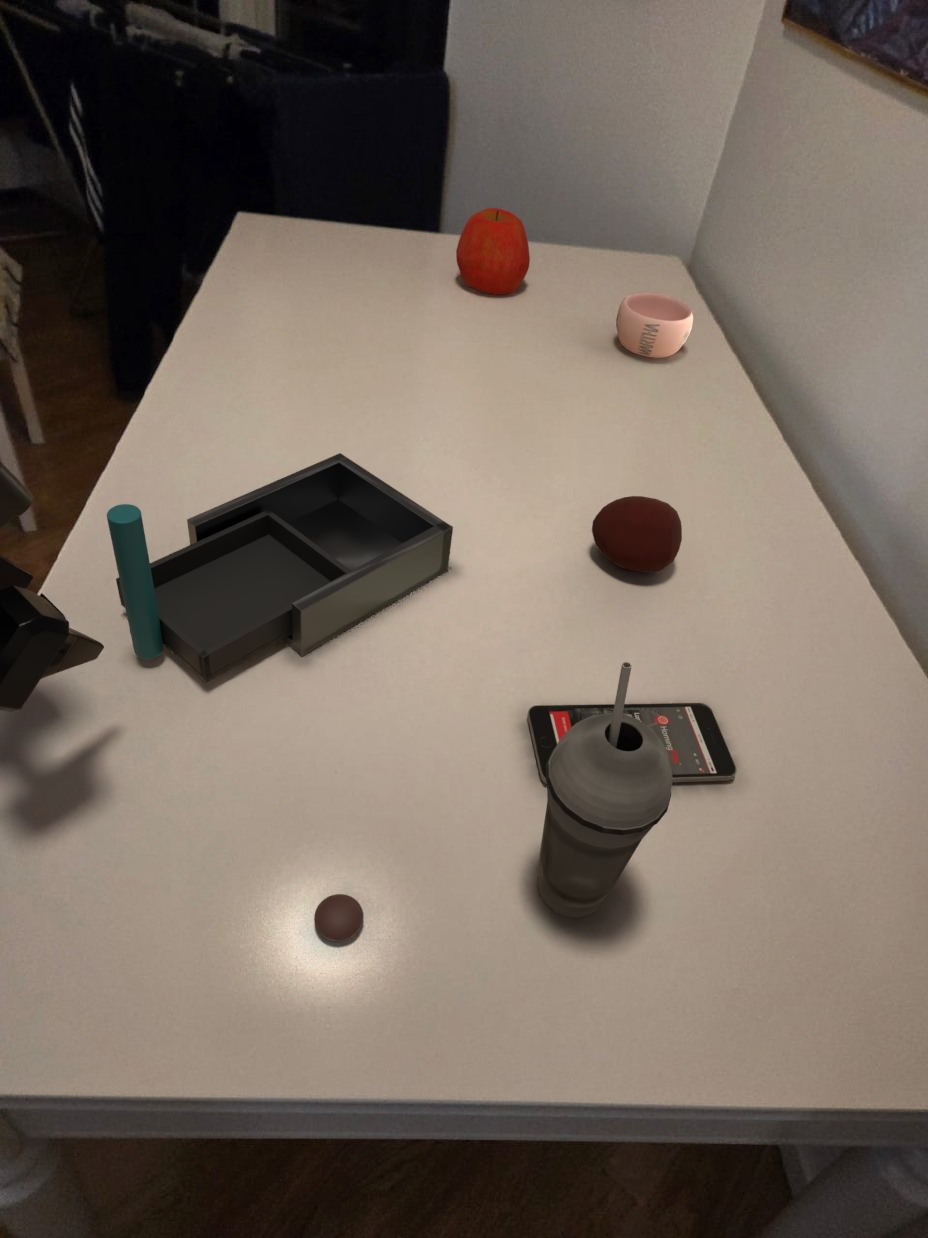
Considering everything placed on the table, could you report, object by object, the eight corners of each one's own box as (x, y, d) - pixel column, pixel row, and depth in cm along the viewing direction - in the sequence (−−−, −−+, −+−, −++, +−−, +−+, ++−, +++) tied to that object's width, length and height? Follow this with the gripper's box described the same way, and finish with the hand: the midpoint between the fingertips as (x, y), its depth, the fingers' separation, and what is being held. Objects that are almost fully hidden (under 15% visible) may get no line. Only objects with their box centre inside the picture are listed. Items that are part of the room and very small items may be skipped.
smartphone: (526, 705, 69) (709, 702, 71) (525, 711, 69) (706, 708, 71) (543, 782, 63) (740, 776, 66) (542, 788, 64) (737, 782, 66)
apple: (449, 267, 134) (456, 193, 127) (519, 272, 136) (530, 199, 128) (456, 297, 126) (464, 220, 119) (530, 301, 128) (543, 225, 121)
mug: (682, 371, 116) (695, 328, 112) (608, 357, 117) (618, 314, 113) (683, 334, 125) (695, 293, 121) (614, 321, 126) (624, 279, 122)
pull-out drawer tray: (302, 657, 71) (301, 611, 68) (192, 565, 78) (186, 519, 74) (447, 570, 81) (453, 526, 78) (339, 495, 88) (340, 452, 84)
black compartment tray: (180, 698, 65) (158, 561, 56) (95, 616, 70) (63, 480, 62) (355, 598, 75) (359, 469, 67) (270, 533, 81) (263, 406, 72)
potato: (589, 529, 88) (604, 470, 83) (673, 548, 87) (693, 489, 83) (580, 574, 83) (596, 514, 78) (670, 594, 82) (691, 534, 77)
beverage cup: (572, 960, 55) (654, 758, 41) (493, 877, 58) (544, 665, 45) (647, 895, 58) (744, 690, 45) (568, 820, 62) (636, 611, 49)
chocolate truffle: (365, 903, 56) (366, 890, 55) (360, 948, 54) (361, 935, 53) (317, 899, 56) (317, 886, 55) (311, 945, 53) (310, 932, 52)
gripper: (-7, 505, 42) (208, 586, 56) (-166, 353, 50) (55, 457, 64) (-131, 697, 43) (113, 730, 56) (-268, 516, 51) (-26, 584, 65)
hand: (63, 615), depth 60 cm, fingers open, 9 cm apart
